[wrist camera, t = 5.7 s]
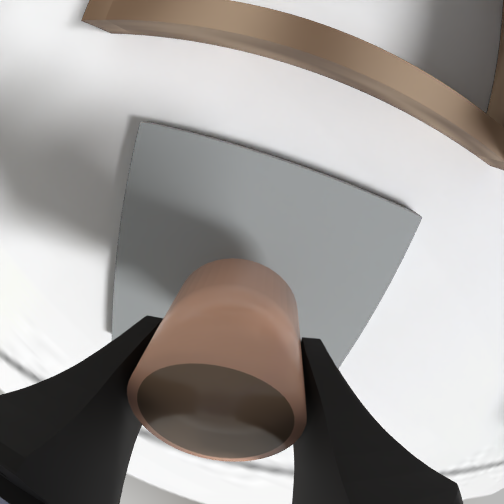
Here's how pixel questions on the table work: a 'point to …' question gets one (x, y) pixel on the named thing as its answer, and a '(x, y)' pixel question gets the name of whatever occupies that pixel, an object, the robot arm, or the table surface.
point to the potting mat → (253, 232)
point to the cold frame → (319, 60)
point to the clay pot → (225, 366)
